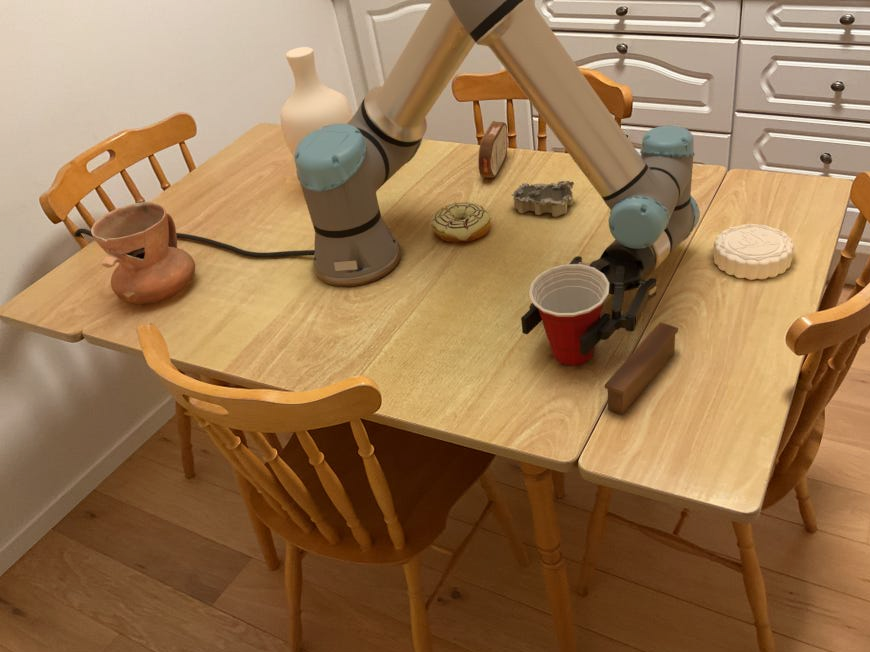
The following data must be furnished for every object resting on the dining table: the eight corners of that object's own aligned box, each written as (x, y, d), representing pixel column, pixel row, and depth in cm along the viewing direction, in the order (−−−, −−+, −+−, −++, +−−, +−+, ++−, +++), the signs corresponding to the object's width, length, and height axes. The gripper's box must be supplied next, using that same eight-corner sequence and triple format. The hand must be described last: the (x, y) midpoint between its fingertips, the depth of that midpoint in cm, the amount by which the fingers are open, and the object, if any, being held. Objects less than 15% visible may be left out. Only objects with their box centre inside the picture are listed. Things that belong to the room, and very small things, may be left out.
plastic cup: (525, 372, 110) (517, 304, 102) (548, 326, 117) (542, 259, 109) (599, 384, 106) (597, 314, 98) (619, 336, 113) (618, 268, 105)
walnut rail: (605, 409, 102) (604, 384, 99) (659, 346, 110) (659, 321, 108) (623, 417, 101) (623, 391, 98) (677, 353, 109) (678, 327, 106)
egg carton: (577, 200, 146) (576, 180, 143) (562, 220, 141) (561, 200, 138) (526, 193, 150) (524, 174, 147) (509, 212, 145) (507, 192, 143)
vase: (288, 190, 164) (246, 57, 146) (342, 164, 170) (309, 33, 152) (325, 210, 155) (286, 70, 137) (382, 181, 161) (351, 44, 144)
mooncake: (777, 235, 128) (780, 216, 126) (802, 275, 119) (806, 256, 117) (704, 244, 129) (706, 225, 127) (724, 284, 120) (726, 265, 118)
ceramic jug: (166, 320, 131) (132, 248, 122) (97, 313, 135) (60, 243, 126) (222, 261, 144) (195, 193, 135) (157, 257, 148) (127, 190, 139)
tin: (497, 151, 166) (493, 114, 160) (511, 151, 165) (508, 113, 160) (479, 185, 155) (474, 146, 150) (494, 185, 154) (489, 146, 149)
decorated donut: (469, 251, 136) (467, 233, 134) (422, 238, 142) (418, 220, 139) (502, 223, 142) (499, 205, 140) (455, 212, 148) (452, 194, 145)
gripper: (699, 294, 114) (622, 383, 101) (575, 258, 125) (492, 334, 113) (702, 251, 109) (622, 339, 97) (573, 218, 121) (486, 292, 108)
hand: (552, 336), depth 105 cm, fingers closed on plastic cup, 9 cm apart
